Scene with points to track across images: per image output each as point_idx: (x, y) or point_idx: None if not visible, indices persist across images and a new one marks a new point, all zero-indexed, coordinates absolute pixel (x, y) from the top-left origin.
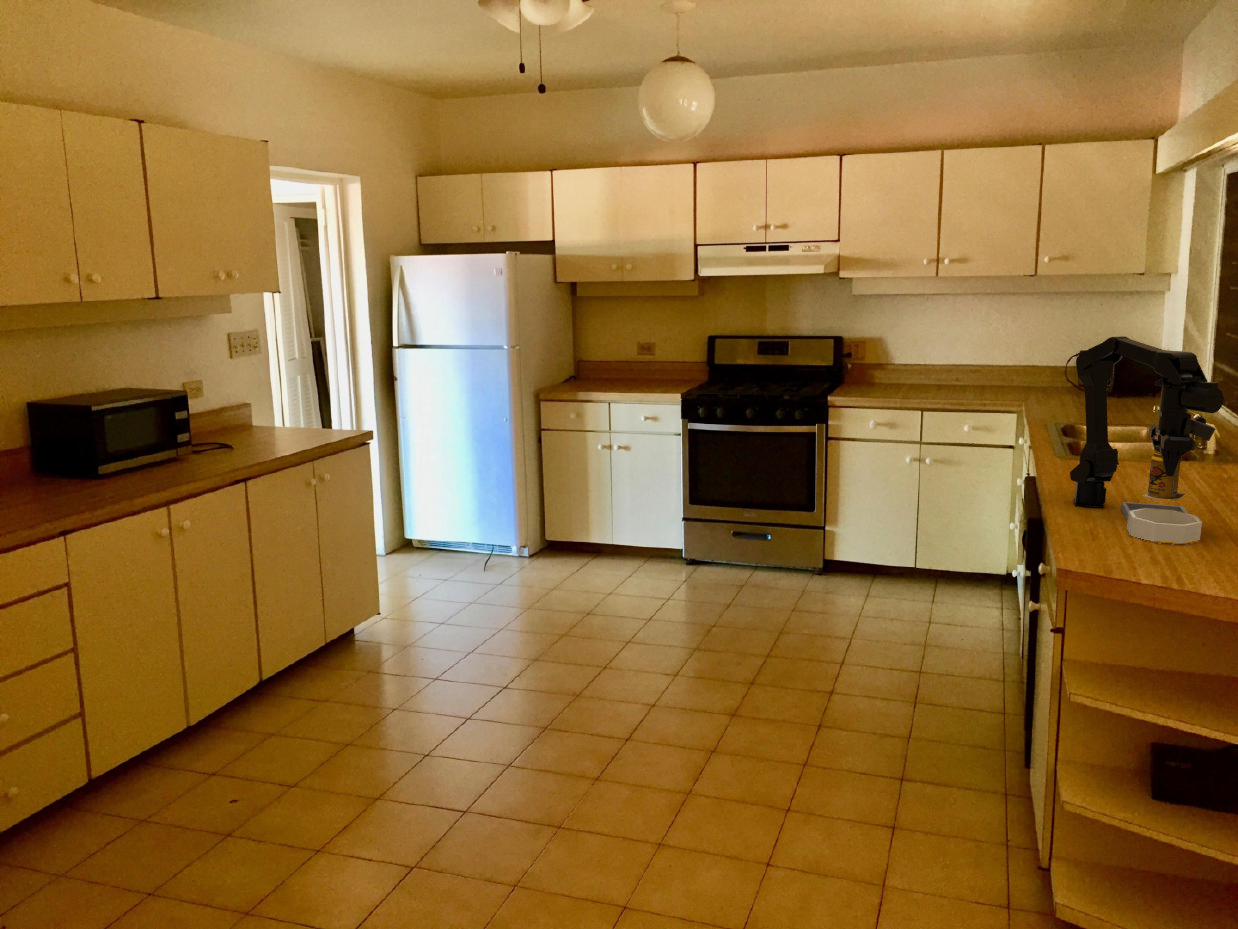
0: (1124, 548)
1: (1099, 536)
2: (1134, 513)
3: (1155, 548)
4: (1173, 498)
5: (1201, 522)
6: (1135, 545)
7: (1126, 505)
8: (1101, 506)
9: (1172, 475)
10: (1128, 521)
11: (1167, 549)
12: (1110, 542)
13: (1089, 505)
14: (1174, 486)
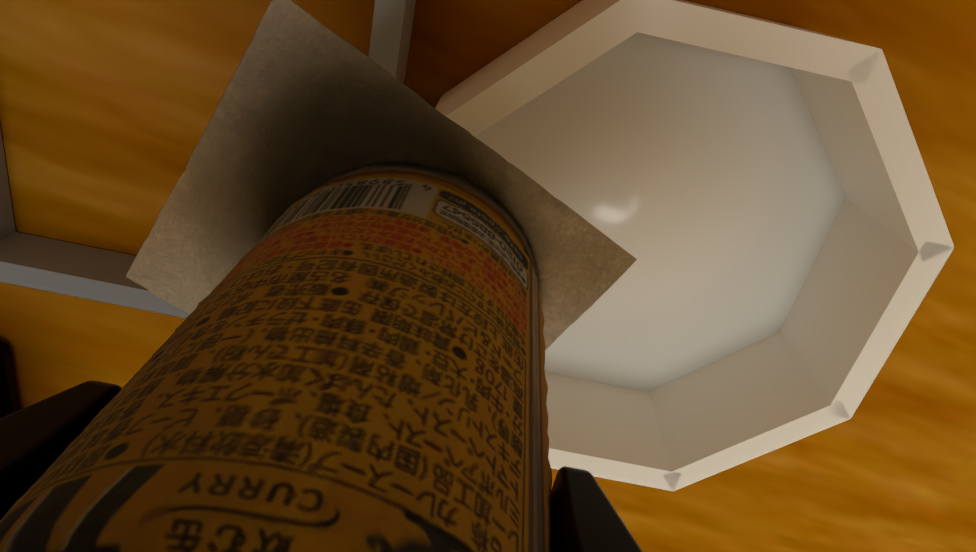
0: (868, 499)
1: (646, 530)
2: None
3: (898, 365)
4: (523, 234)
5: (883, 56)
6: (824, 437)
7: (52, 275)
8: (6, 356)
9: (594, 484)
10: None
11: (932, 312)
12: (755, 520)
13: (14, 412)
14: (529, 310)
